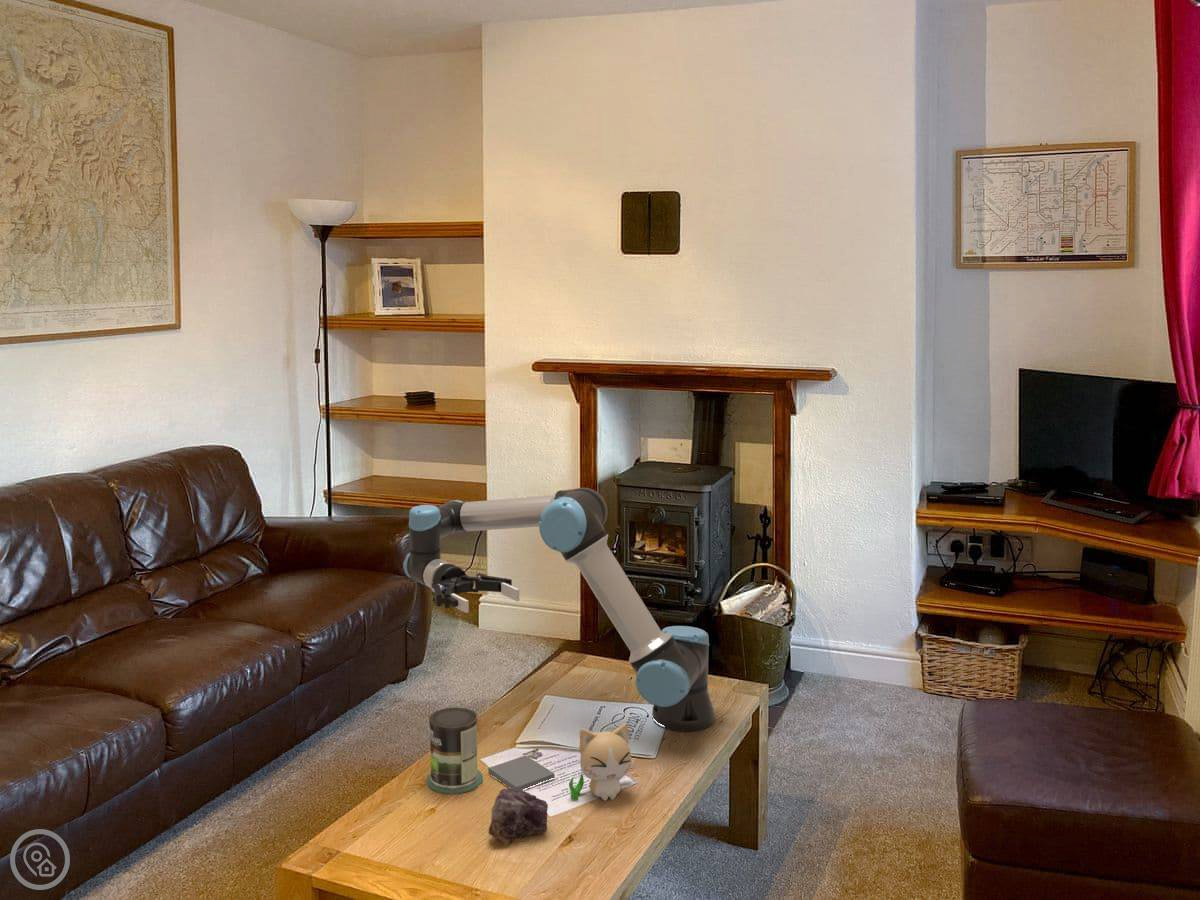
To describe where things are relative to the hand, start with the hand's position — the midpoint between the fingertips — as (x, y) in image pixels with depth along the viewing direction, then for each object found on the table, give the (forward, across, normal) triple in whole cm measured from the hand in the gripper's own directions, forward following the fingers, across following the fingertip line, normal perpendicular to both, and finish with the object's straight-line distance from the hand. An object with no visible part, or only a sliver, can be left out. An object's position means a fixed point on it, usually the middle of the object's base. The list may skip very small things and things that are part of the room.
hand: (493, 601), depth 253 cm
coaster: (+9, +16, -35) cm, 40 cm away
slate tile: (+11, +4, -34) cm, 36 cm away
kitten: (+34, -6, -35) cm, 49 cm away
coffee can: (+9, +16, -35) cm, 39 cm away
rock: (+35, +18, -35) cm, 53 cm away
